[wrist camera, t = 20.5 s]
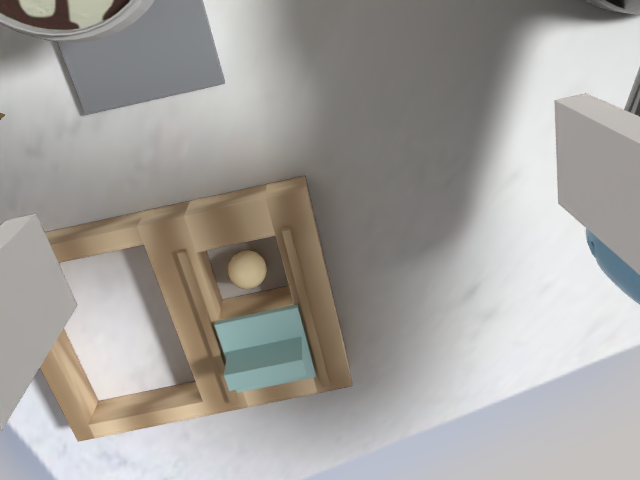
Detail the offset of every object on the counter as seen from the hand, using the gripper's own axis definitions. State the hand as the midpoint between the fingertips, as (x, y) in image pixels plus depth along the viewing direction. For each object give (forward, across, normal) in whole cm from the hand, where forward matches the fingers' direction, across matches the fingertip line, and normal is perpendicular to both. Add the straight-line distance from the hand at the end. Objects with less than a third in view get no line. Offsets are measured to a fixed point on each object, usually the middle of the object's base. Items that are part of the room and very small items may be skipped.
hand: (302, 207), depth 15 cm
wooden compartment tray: (+29, +13, +18) cm, 36 cm away
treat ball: (+29, +7, +15) cm, 33 cm away
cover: (+26, +7, +21) cm, 34 cm away
